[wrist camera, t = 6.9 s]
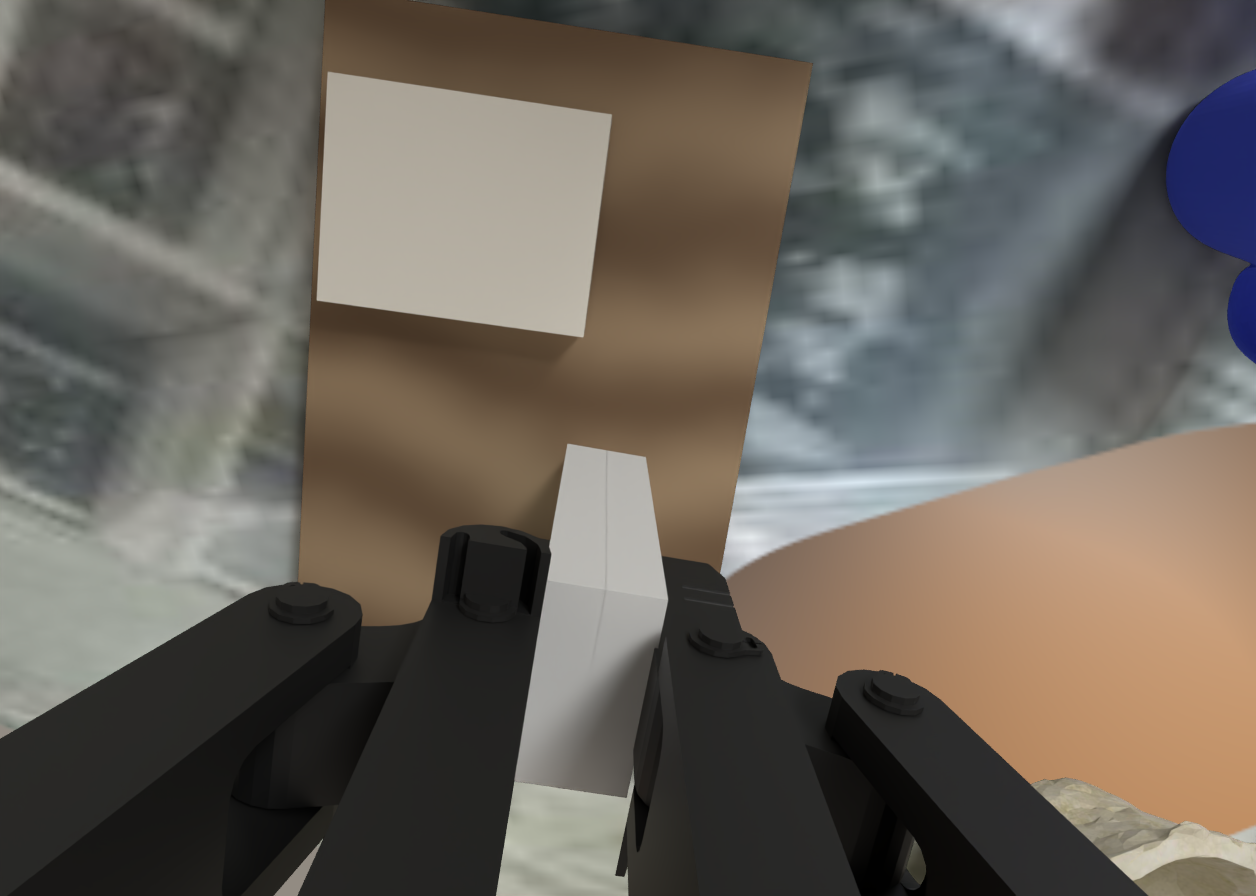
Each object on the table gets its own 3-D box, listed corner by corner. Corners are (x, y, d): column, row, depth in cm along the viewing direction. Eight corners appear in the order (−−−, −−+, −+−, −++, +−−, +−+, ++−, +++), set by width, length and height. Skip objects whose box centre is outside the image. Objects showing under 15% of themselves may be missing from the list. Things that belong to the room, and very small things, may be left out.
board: (335, -6, 34) (325, -13, 33) (806, 67, 35) (812, 63, 34) (304, 620, 41) (295, 633, 40) (698, 668, 42) (700, 682, 40)
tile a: (612, 119, 34) (345, 79, 34) (611, 114, 32) (327, 71, 31) (585, 329, 36) (334, 294, 36) (583, 337, 34) (316, 300, 34)
